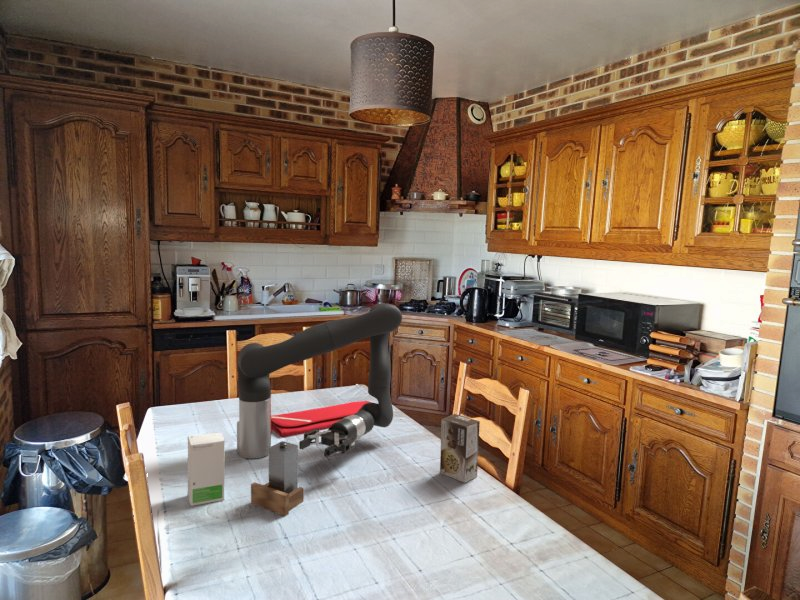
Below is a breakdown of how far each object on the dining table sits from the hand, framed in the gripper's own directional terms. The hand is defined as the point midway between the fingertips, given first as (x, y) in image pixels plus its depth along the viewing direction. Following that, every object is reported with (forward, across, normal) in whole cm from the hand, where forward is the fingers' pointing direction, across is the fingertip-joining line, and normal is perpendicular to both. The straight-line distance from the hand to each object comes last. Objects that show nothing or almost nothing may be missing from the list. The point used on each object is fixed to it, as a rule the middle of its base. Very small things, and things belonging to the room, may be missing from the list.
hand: (312, 449), depth 138 cm
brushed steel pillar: (+12, 0, +9) cm, 15 cm away
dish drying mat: (-40, -25, +10) cm, 48 cm away
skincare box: (+21, -17, +9) cm, 28 cm away
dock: (+13, 0, +9) cm, 16 cm away
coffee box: (-25, +32, +9) cm, 42 cm away
